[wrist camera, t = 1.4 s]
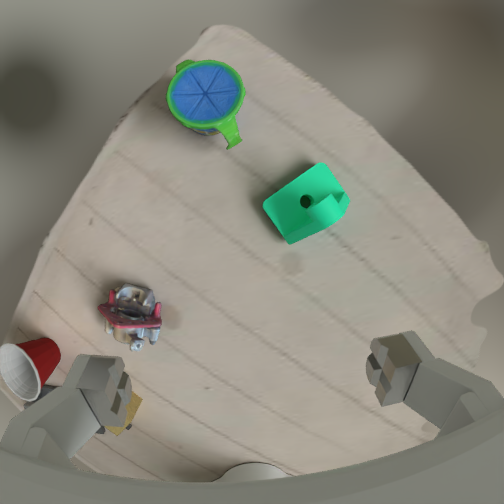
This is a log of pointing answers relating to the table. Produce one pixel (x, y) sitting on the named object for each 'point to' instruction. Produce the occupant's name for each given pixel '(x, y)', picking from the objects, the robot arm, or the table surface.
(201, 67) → the snack cup
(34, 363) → the plastic cup
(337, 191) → the camera mount
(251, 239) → the table surface
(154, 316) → the brake caliper
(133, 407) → the block
